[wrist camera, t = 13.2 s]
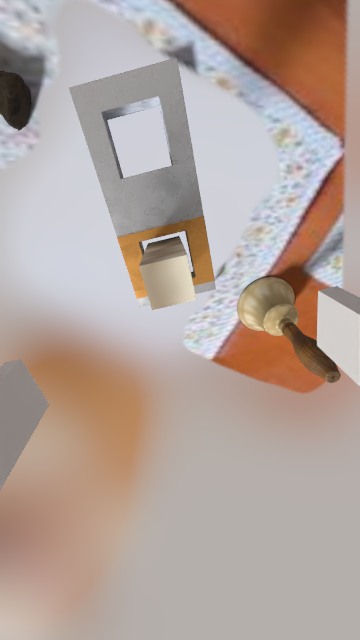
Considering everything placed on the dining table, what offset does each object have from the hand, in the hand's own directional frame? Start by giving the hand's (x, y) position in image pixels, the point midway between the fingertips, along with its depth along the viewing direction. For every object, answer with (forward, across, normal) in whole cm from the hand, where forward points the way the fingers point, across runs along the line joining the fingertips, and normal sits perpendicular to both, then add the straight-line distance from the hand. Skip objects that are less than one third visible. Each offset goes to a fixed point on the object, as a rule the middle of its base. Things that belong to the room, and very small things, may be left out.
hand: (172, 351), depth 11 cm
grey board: (+23, 0, +6) cm, 23 cm away
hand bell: (+23, +12, -10) cm, 28 cm away
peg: (+23, 0, 0) cm, 23 cm away
